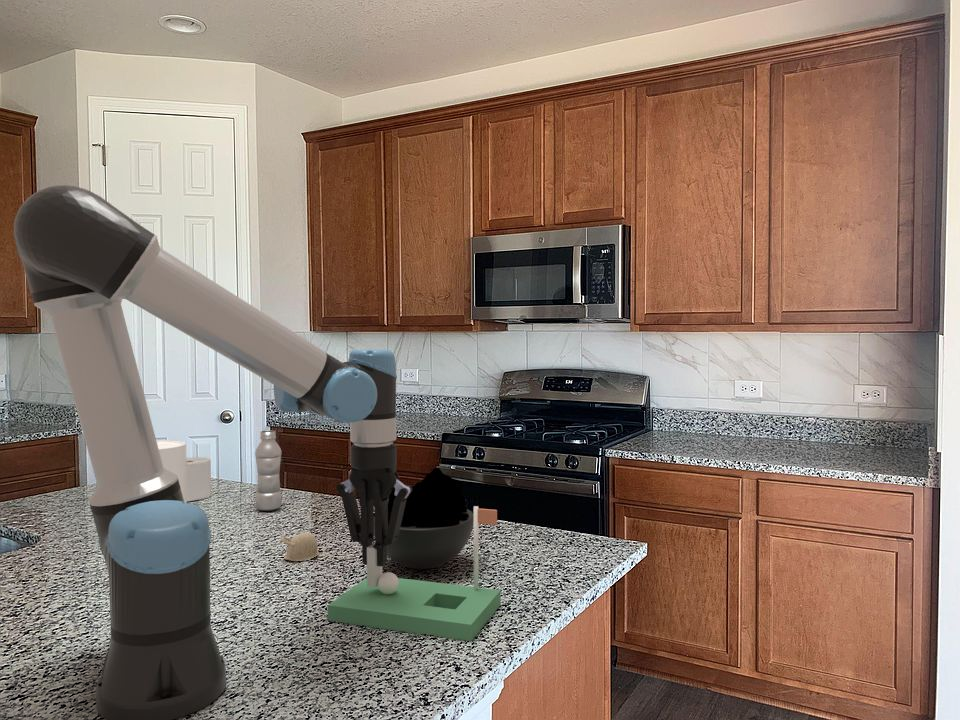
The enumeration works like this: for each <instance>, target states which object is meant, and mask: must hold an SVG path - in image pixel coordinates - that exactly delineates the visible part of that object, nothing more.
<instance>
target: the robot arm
mask: <svg viewBox="0 0 960 720" xmlns="http://www.w3.org/2000/svg"><path fill="white" fill-rule="evenodd" d="M13 236H14V240H15V245H16V246H15V247H16V250H17V253H18V256H19V259H20V261H21V262H22V266H23V270H24V274H25V277H26V280H27V285H28V288H29V291H30V296H31V299H32V302H33V305H34V307H36V308H38V309H40V310H41V311H43V312H45V313H46V314H48V315H49V316H50V318H51V321H52V324H53V325H52V326H53V328H54V333H55V336H56V339H57V343H58V347H59V351H60V355H61V358H62V363H63V364H64V369H65V372H66V375H67V376H66V377H67V379H68V383H69V386H70V390H71V395H72V398H73V401H74V405H75V409H76V413H77V415H78V421H79V422H80V427H81V430H82V434H83V437H84V441H85V445H86V449H87V452H88V456H89V460H90V463H91V467H92V471H93V475H94V477H95V482H96V485H97V486H96V488H95V490H94V492H93V493H92V495H91V496H90V498H89V499H88V503H89V507H90V510H91V513H92V517H93V522H94V526H95V529H96V533H97V537H98V539H97V541H98V546H99V548H100V549H99V550H100V552H101V554H102V556H103V558H104V561H105V566H106V570H107V574H108V583H109V585H108V587H109V617H110V643H109V645H108V646H109V647H108V650H107V653H106V656H105V659H104V662H103V667H102V670H101V676H100V677H99V679H98V682H97V685H96V687H95V689H96V690H95V701H96V702H95V703H96V705H95V707H96V710H97V714H99V716H101V717H102V718H104V719H106V720H174V719H178V718H182V717H185V716H188V715H191V714H193V713H195V712H198V711H200V710H201V709H203V708H205V707H206V706H209V705H210V704H211V703H213V702H214V701H216V700H217V699H218V698H219V697H220V696H221V695H222V694H223V692H224V691H225V689H226V686H227V667H226V662H225V661H224V658H223V657H222V656H221V654H220V649H219V647H218V643H217V641H216V637H215V635H214V631H213V628H212V623H211V622H212V621H211V616H212V615H211V613H212V612H211V611H212V610H211V609H212V608H211V562H210V561H211V558H210V557H211V556H210V555H211V554H210V553H211V552H210V551H211V550H210V549H211V547H210V545H211V539H212V534H211V528H210V526H209V525H210V524H209V523H210V522H209V517H208V515H207V513H206V511H204V509H202V508H201V507H200V506H199V505H196V504H193V503H191V502H187V503H184V499H183V495H182V492H181V488H180V484H179V480H178V476H177V475H176V474H174V473H172V472H170V471H168V470H166V469H165V468H164V467H163V464H162V461H161V457H160V453H159V449H158V445H157V441H156V440H157V438H156V434H155V431H154V427H153V423H152V418H151V415H150V412H149V411H150V410H149V407H148V403H147V399H146V396H145V392H144V387H143V384H142V381H141V377H140V373H139V369H138V365H137V361H136V358H135V357H136V356H135V354H134V353H135V352H134V349H133V345H132V342H131V339H130V338H131V337H130V334H129V331H128V326H127V324H126V323H127V322H126V319H125V313H124V311H123V308H122V301H123V299H124V300H127V301H128V302H130V303H132V304H134V306H137V307H139V308H140V309H142V310H144V311H146V312H147V313H149V314H150V315H152V316H154V317H156V318H158V319H160V320H161V321H162V322H165V323H166V324H168V325H170V326H171V327H173V328H175V329H177V330H178V331H180V332H182V333H184V334H185V335H186V336H189V337H191V338H192V339H194V340H196V341H197V342H199V343H201V344H203V345H205V346H206V347H207V348H209V349H212V350H213V351H215V352H216V353H218V354H219V355H221V356H223V357H225V358H227V359H228V360H230V361H232V362H234V363H235V364H237V365H239V366H240V367H242V368H245V369H246V370H248V371H250V372H251V373H253V374H255V375H256V376H258V377H260V378H261V379H263V380H265V381H267V382H269V383H270V384H272V385H273V394H274V395H273V396H274V401H275V405H276V407H277V409H278V410H279V411H280V412H283V413H296V414H300V413H307V412H309V413H315V414H316V415H319V416H325V417H327V418H331V419H332V420H334V421H335V422H338V423H342V424H343V423H350V424H349V428H350V432H349V435H350V436H349V441H350V442H351V443H353V444H351V446H350V451H349V453H350V467H351V469H350V470H351V471H350V473H349V475H348V479H346V480H344V481H343V482H340V483H338V484H336V486H335V488H336V491H337V492H338V494H339V496H340V497H341V500H342V505H343V509H344V513H345V518H346V524H347V527H348V531H349V535H350V539H351V541H352V542H356V543H359V544H360V546H361V547H362V548H361V553H362V554H361V559H362V561H361V562H362V563H363V565H366V578H367V587H377V586H378V579H379V577H380V576H381V575H382V574H383V567H384V566H385V565H386V564H387V562H388V556H387V545H391V544H392V543H394V542H395V541H396V540H397V539H398V536H399V531H400V527H401V522H402V518H403V513H404V509H405V504H406V500H407V498H408V496H409V495H410V493H411V492H412V487H413V486H411V485H406V484H404V483H403V482H402V481H400V477H399V474H398V472H397V465H398V463H397V462H398V460H397V459H398V458H397V455H398V454H397V452H398V451H397V450H398V449H397V444H396V443H394V442H395V441H396V440H397V404H396V403H397V400H396V399H397V379H398V375H397V364H396V363H397V362H396V355H395V354H394V352H393V351H392V350H390V349H385V348H384V349H383V348H374V349H373V348H366V349H364V348H363V349H361V348H360V349H352V350H351V351H350V352H349V357H348V361H344V362H342V361H340V360H338V358H336V357H334V356H333V355H330V354H328V352H326V351H325V350H323V349H321V348H320V347H318V346H316V345H315V344H313V343H312V342H311V341H308V340H307V339H306V338H304V337H302V336H301V335H299V334H297V333H296V332H294V331H293V330H291V329H289V328H288V327H287V326H284V325H283V324H282V323H280V322H278V320H275V319H274V318H272V317H271V316H269V315H267V314H266V313H264V312H263V311H261V310H259V309H258V308H256V307H255V306H253V305H252V304H250V303H248V302H247V301H245V300H244V299H242V298H240V297H239V296H237V295H235V294H234V293H233V292H231V291H230V290H227V289H226V288H225V287H223V286H221V285H220V284H218V283H217V282H216V281H214V280H212V279H210V278H209V277H207V276H206V275H204V274H202V273H201V272H199V271H197V270H196V269H194V268H193V267H191V266H190V265H188V264H186V263H185V262H184V261H182V260H180V259H179V258H177V257H176V256H174V255H173V254H171V253H170V252H168V251H166V250H164V249H163V248H161V246H160V243H159V240H158V239H159V238H158V236H157V235H156V234H154V233H153V232H151V231H150V230H148V229H147V228H145V227H144V226H142V225H140V223H138V222H136V221H135V220H133V219H132V218H131V217H130V216H128V215H127V214H125V213H124V212H122V211H121V210H120V209H118V208H117V207H115V206H114V205H112V203H110V202H108V201H107V200H106V199H104V198H103V197H102V196H100V195H98V194H97V193H94V192H93V191H91V190H89V189H86V188H84V187H83V188H82V187H79V186H75V185H67V184H66V185H65V184H64V185H51V186H48V187H44V188H43V189H39V190H37V191H36V192H34V193H33V194H31V195H30V196H28V198H26V200H25V201H23V202H22V204H21V206H20V207H19V208H18V210H17V212H16V215H15V218H14V222H13ZM394 488H395V496H396V497H395V500H394V503H393V507H392V512H391V516H390V521H389V525H388V502H389V495H390V493H391V492H392V490H393V489H394ZM354 490H355V491H356V493H357V494H358V501H357V496H356V494H355V491H354ZM359 507H360V509H359ZM359 510H360V511H359ZM374 513H375V537H374ZM373 542H374V543H373Z"/></svg>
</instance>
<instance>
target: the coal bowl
mask: <svg viewBox="0 0 960 720" xmlns="http://www.w3.org/2000/svg"><path fill="white" fill-rule="evenodd" d="M411 487H412V492H411V493H410V495H409V496H408V498H407V500H406V504H405V509H404V513H403V518H402V522H401V527H400V531H399V536H398V539H397V540H396V541H395V542H394V543H392V544H391V545H387V558H389V559H390V560H392V561H393V562H395V563H397V564H398V565H401V566H403V567H405V568H409V569H413V570H414V569H415V570H428V569H433V568H437V567H440V566H442V565H444V564H446V563H449V562H450V561H451V560H453V559H454V558H455V557H457V556H458V555H459V553H461V552H462V550H463V549H464V547H465V546H466V545H467V543H468V542H469V539H470V537H471V535H472V532H473V530H474V511H472V510H470V509H468V508H467V501H466V500H465V498H464V496H463V494H462V490H463V488H464V486H463V483H462V482H461V481H459V480H458V479H457V478H453V477H451V476H450V475H447V474H445V473H443V471H442V470H441V469H440V468H439V467H433V469H432V470H431V471H430V472H429V473H426V474H425V477H424V478H423V479H422V480H421V481H418V482H417V483H415V484H414V485H413V486H411ZM395 497H396V496H395V488H394V489H393V490H392V492H391V493H390V495H389V502H388V525H389V521H390V516H391V512H392V507H393V503H394V500H395ZM374 538H375V512H374Z"/></svg>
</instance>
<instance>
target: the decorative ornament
mask: <svg viewBox="0 0 960 720" xmlns="http://www.w3.org/2000/svg"><path fill="white" fill-rule="evenodd" d="M280 540H281V542H283V543H284V544H285V545H287V548H286V555H285V556H284V558H283V559H285V560H287V561H292V562H298V561H302V560H306V559H310V558H314V557H315V558H316V556H317V557H318V555H320V553H319V551H318V548H319V547H318V541H317V540H316V537H315V536H314V534H313V533H311V532H302V533H299V534H297V535H294V536H293V537H292V538H290V537H286V536H284V535H283V536H281V537H280ZM315 558H314V559H315Z"/></svg>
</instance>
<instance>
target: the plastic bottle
mask: <svg viewBox="0 0 960 720" xmlns="http://www.w3.org/2000/svg"><path fill="white" fill-rule="evenodd" d="M259 439H260V440H261V441H260V443H258V445H257V446H256V448H255V454H254V455H255V456H254V457H255V461H256V462H255V463H256V470H257V471H256V472H257V483H256V485H257V487H256V492H255V493H256V494H255V500H254V501H255V506H256V508H257V510H259V511H266V512H269V511H270V512H271V511H274V510H277V509H280V507H281V506H282V501H283V496H282V490H281V482H280V470H281V468H280V467H281V461H282V459H281V458H282V449H281V447H280V445H279V443H277V441H276V439H277V436H276V430H273V429H271V430H268V429H267V430H261V431H260V438H259Z"/></svg>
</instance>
